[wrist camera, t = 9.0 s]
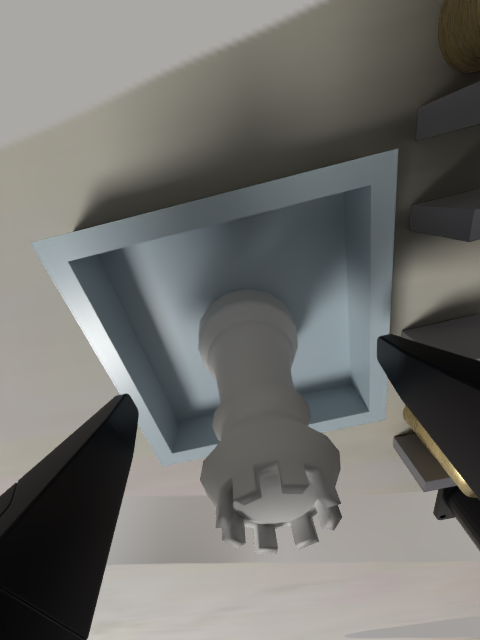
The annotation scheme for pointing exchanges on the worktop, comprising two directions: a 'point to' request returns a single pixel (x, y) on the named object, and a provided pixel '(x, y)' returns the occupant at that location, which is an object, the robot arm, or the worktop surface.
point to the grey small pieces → (456, 223)
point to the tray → (234, 275)
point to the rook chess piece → (263, 428)
